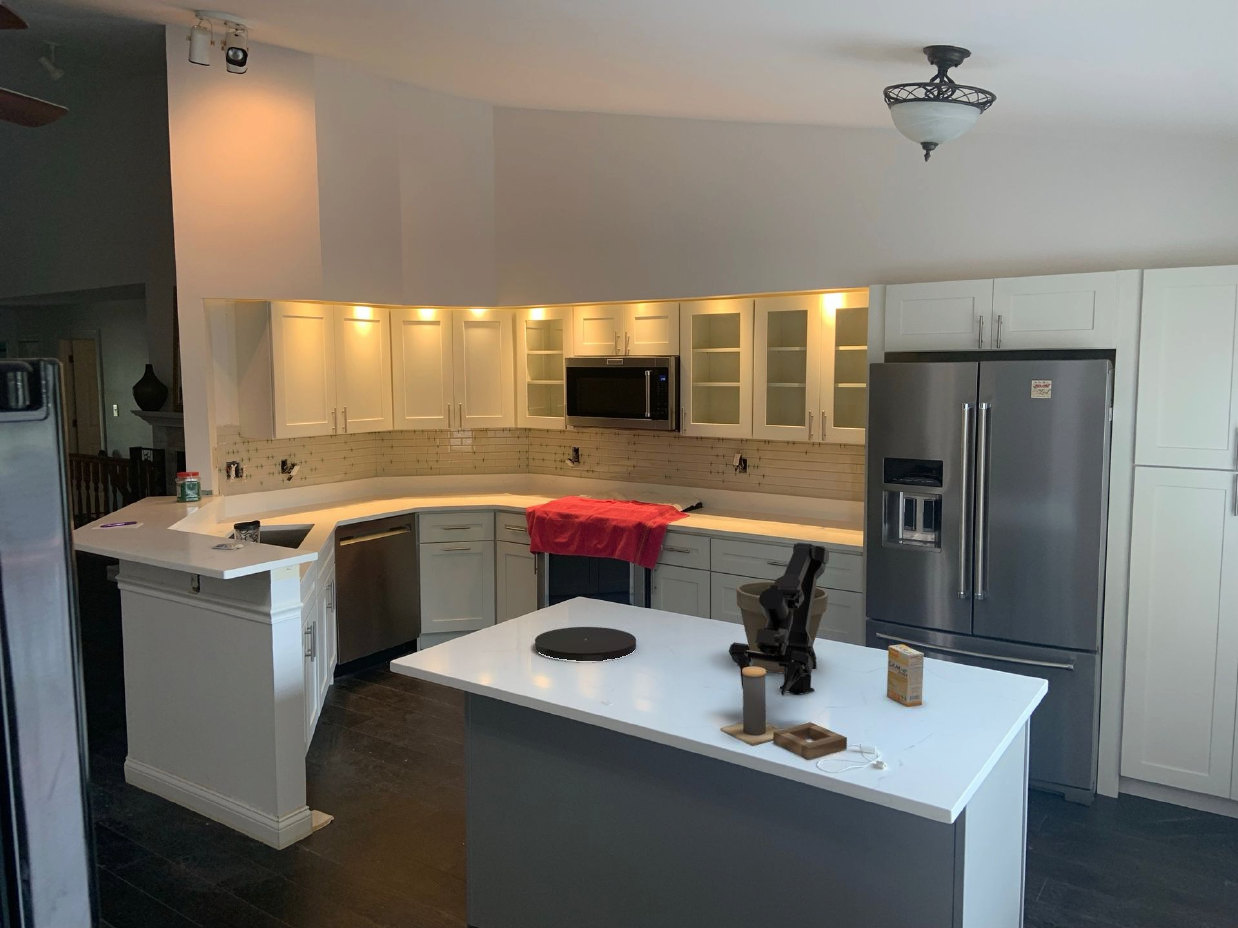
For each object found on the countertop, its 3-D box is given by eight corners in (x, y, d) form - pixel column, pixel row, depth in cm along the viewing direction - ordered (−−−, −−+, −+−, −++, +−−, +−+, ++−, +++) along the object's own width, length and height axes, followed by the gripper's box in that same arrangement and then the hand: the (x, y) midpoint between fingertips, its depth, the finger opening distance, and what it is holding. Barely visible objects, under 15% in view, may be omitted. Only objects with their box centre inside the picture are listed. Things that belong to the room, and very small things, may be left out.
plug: (739, 727, 210) (738, 667, 208) (761, 725, 211) (760, 665, 210) (747, 736, 205) (747, 674, 203) (769, 734, 206) (769, 672, 205)
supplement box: (885, 696, 234) (887, 645, 233) (901, 694, 236) (903, 643, 235) (906, 707, 226) (908, 654, 225) (922, 704, 228) (924, 652, 227)
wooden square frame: (773, 742, 203) (773, 731, 203) (809, 732, 209) (810, 721, 208) (809, 759, 194) (809, 747, 193) (846, 748, 200) (846, 737, 199)
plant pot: (821, 654, 270) (822, 581, 269) (831, 681, 246) (833, 600, 244) (734, 651, 273) (735, 578, 271) (736, 677, 248) (737, 597, 247)
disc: (521, 641, 283) (521, 631, 283) (611, 631, 296) (611, 622, 296) (556, 668, 256) (556, 657, 256) (653, 656, 269) (653, 646, 268)
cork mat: (720, 729, 210) (720, 727, 210) (757, 720, 216) (757, 718, 216) (752, 745, 201) (752, 743, 201) (790, 735, 207) (790, 733, 207)
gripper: (732, 608, 218) (715, 668, 210) (810, 618, 210) (796, 681, 202) (742, 632, 226) (726, 690, 218) (818, 642, 218) (805, 704, 210)
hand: (762, 691), depth 211 cm, fingers open, 9 cm apart
